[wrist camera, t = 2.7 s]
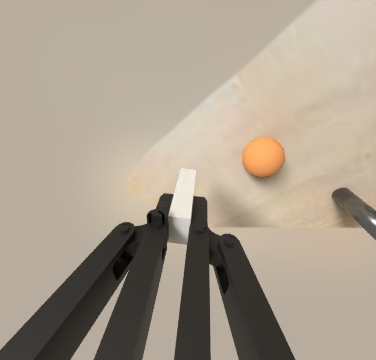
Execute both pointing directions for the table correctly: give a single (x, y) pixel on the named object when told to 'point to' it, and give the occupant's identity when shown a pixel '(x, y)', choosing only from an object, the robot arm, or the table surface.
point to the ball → (263, 157)
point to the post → (357, 209)
